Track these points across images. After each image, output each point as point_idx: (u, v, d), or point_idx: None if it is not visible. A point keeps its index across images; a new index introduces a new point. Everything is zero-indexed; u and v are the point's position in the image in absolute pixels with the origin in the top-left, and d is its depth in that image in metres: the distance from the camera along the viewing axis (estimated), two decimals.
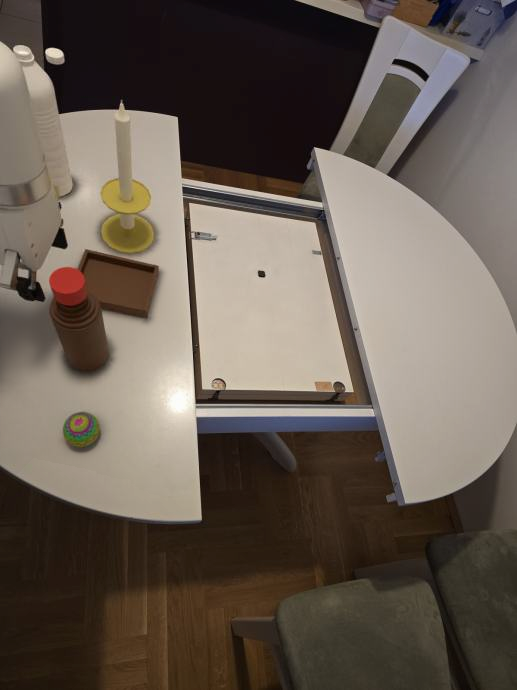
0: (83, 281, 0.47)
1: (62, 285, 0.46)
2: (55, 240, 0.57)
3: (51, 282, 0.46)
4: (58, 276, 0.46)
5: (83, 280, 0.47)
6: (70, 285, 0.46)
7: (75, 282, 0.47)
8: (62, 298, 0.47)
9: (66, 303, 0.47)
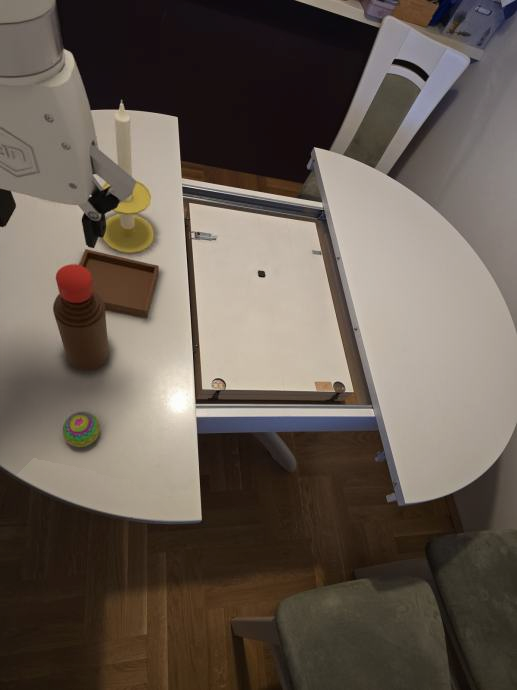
0: (90, 278, 0.47)
1: (69, 282, 0.46)
2: (7, 202, 0.37)
3: (58, 279, 0.46)
4: (65, 273, 0.47)
5: (90, 277, 0.47)
6: (77, 282, 0.47)
7: (82, 279, 0.47)
8: (68, 295, 0.47)
9: (72, 300, 0.48)
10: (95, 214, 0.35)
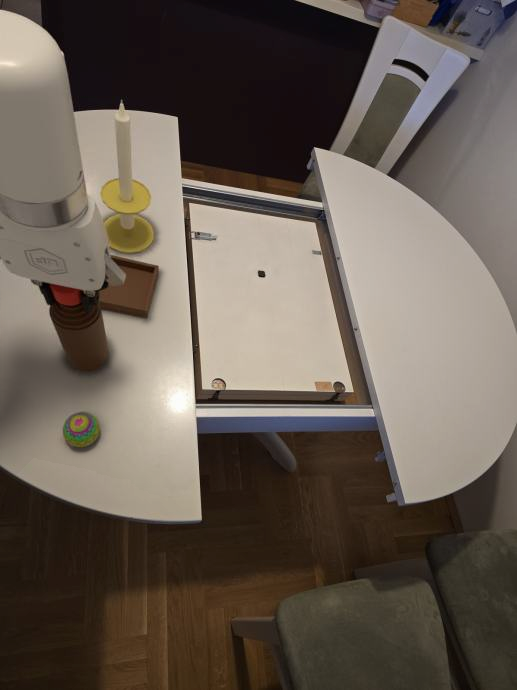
0: None
1: None
2: None
3: None
4: None
5: None
6: None
7: None
8: (62, 298, 0.47)
9: (66, 303, 0.47)
10: (90, 292, 0.46)
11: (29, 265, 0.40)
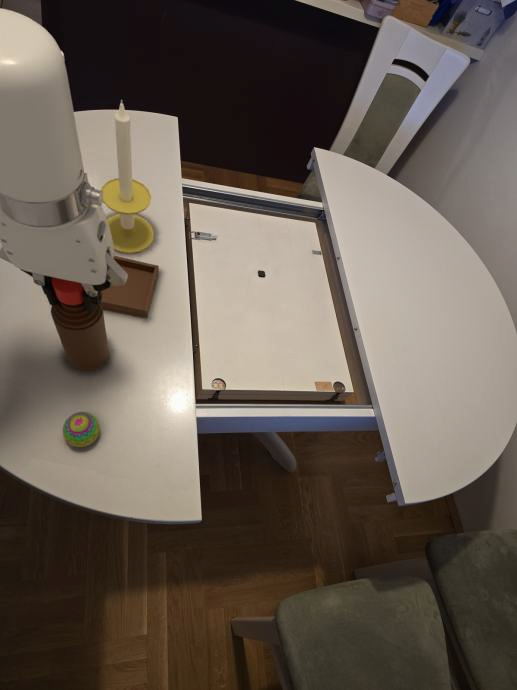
0: (52, 277, 0.46)
1: None
2: None
3: None
4: (78, 283, 0.46)
5: (52, 278, 0.46)
6: None
7: None
8: None
9: None
10: None
11: None
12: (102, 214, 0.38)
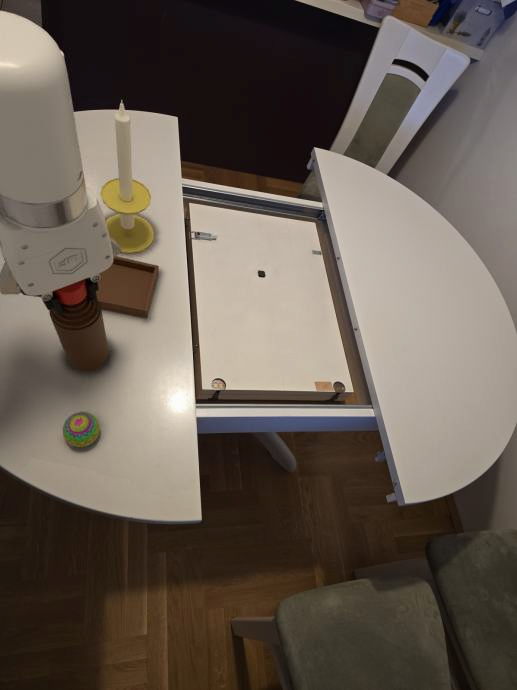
0: None
1: None
2: None
3: None
4: None
5: None
6: None
7: None
8: None
9: None
10: (97, 276, 0.47)
11: (52, 275, 0.40)
12: None
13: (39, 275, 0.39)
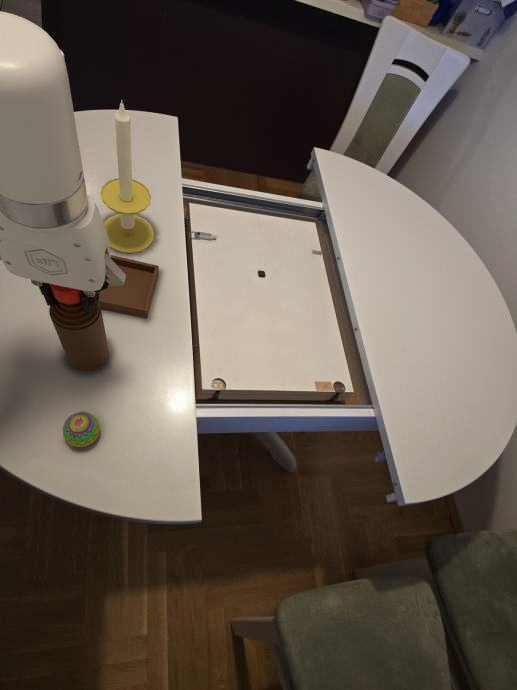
0: None
1: None
2: None
3: None
4: None
5: None
6: None
7: None
8: (61, 296, 0.46)
9: (65, 301, 0.47)
10: (90, 293, 0.46)
11: (29, 266, 0.40)
12: None
13: (16, 259, 0.39)
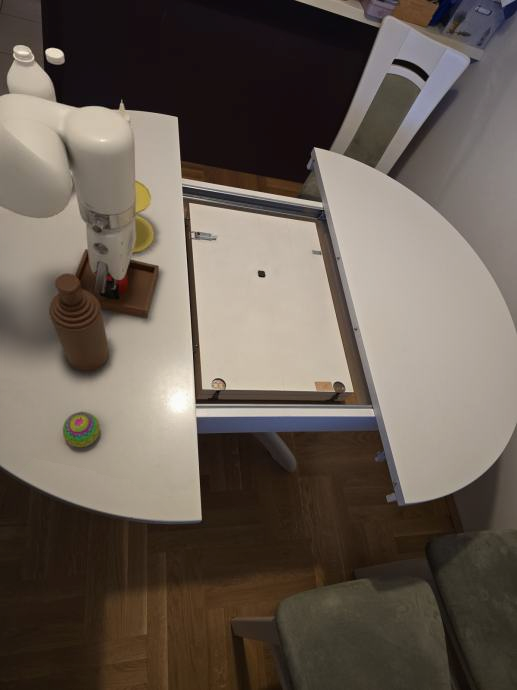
0: None
1: None
2: None
3: None
4: None
5: None
6: None
7: None
8: (126, 283, 0.70)
9: (127, 285, 0.71)
10: None
11: (127, 257, 0.61)
12: (108, 244, 0.54)
13: (124, 260, 0.60)
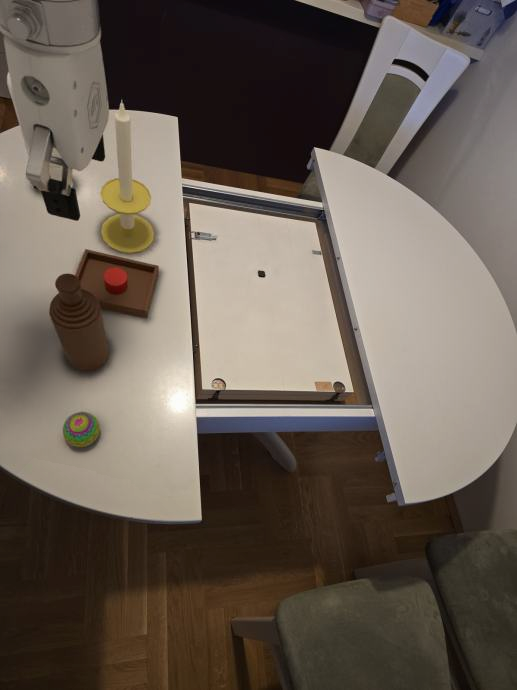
0: (116, 268, 0.69)
1: (120, 278, 0.68)
2: None
3: (117, 284, 0.68)
4: (112, 280, 0.68)
5: (115, 268, 0.69)
6: (120, 274, 0.69)
7: (117, 272, 0.69)
8: (126, 283, 0.70)
9: (127, 285, 0.71)
10: None
11: (90, 131, 0.36)
12: (47, 78, 0.29)
13: (84, 132, 0.35)
